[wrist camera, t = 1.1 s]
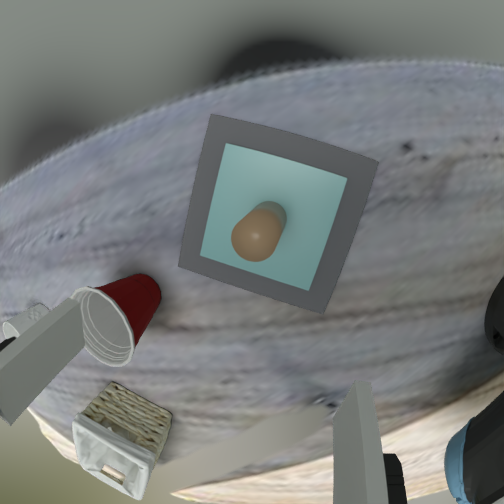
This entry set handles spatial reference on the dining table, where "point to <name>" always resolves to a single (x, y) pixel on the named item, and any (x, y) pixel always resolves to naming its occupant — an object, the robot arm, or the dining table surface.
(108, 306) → the plastic cup
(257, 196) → the lid
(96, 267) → the dining table surface
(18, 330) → the white cup
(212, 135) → the mat
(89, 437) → the storage basket
